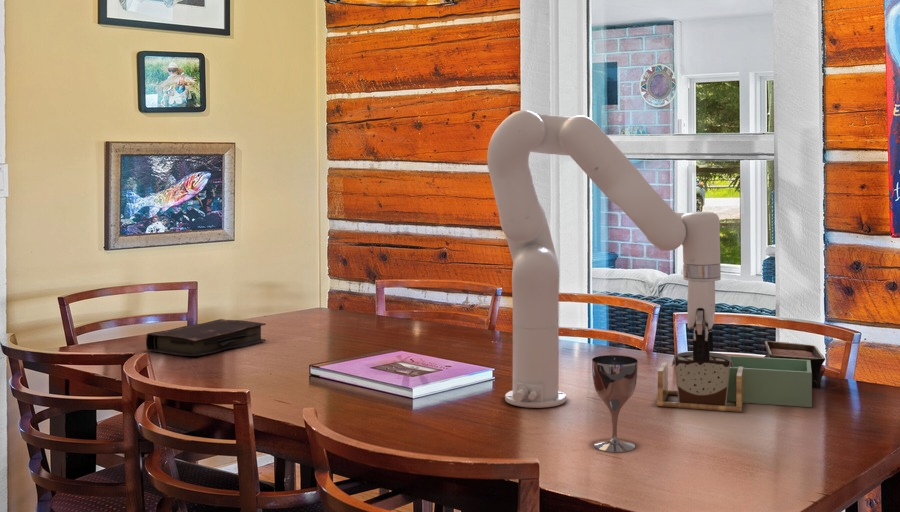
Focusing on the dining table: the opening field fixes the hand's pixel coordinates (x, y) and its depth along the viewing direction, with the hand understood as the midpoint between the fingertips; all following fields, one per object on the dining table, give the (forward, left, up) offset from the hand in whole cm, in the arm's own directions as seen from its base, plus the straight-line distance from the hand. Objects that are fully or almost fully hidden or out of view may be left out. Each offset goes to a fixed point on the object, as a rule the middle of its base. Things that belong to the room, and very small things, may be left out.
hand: (703, 355), depth 198 cm
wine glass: (-34, +12, -10) cm, 38 cm away
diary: (+22, +130, -10) cm, 133 cm away
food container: (0, +1, -10) cm, 10 cm away
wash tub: (+9, -13, -10) cm, 18 cm away
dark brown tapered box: (+26, -18, -10) cm, 33 cm away
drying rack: (0, +1, -10) cm, 10 cm away
